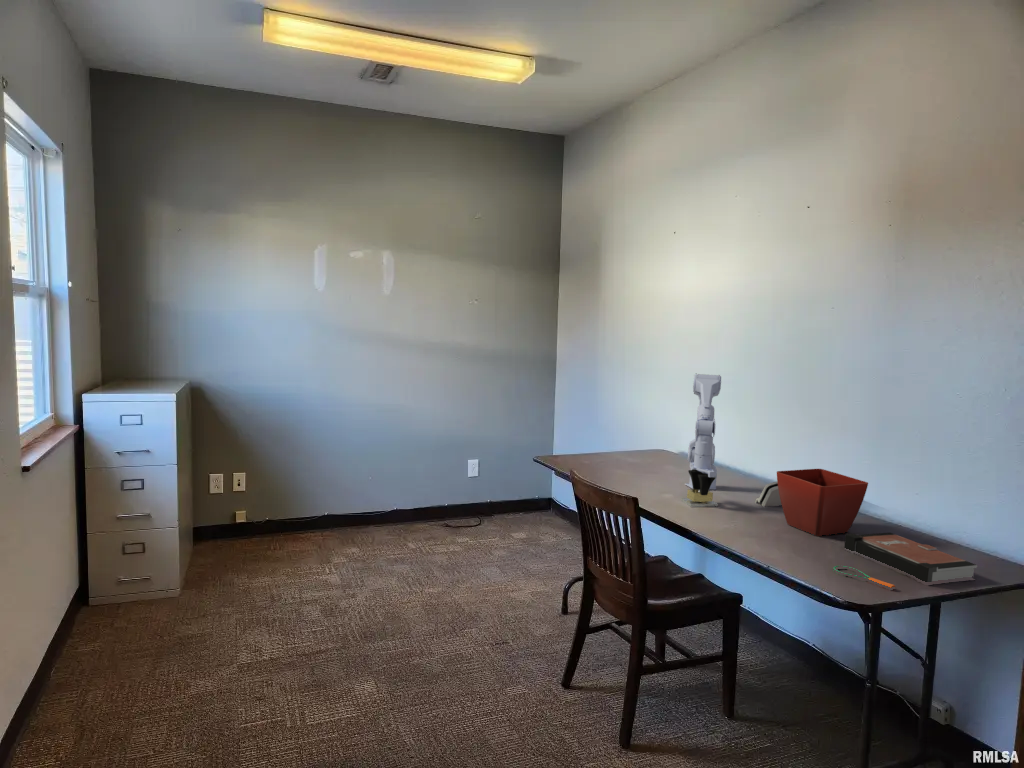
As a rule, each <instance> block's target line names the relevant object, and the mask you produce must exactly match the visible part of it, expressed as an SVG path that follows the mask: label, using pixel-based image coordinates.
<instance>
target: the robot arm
mask: <svg viewBox="0 0 1024 768" xmlns="http://www.w3.org/2000/svg"><path fill="white" fill-rule="evenodd" d="M692 382H693V383H692V384H693V385H692V392H693V394H694V395H696V396H697V397H698V400H699V403H698V407H697V417H696V421H695V429H694V433H695V438H694V439H692V440H691V441H689V444H688V450H687V452H688V453H687V462H688V463H689V470H688V474H689V482H686V483H684V485H685V486H687V487H688V488H691V489H700V492H701V495H707V494H708V491H710V490H717V475H718V471H717V468H716V466H715V465H714V464H715V459H716V458H715V457H716V446H715V443H714V438H715V435H716V420H715V407H714V406H713V405H712V403H713V398H714V397H718V396H719V394H720V392H721V388H722V386H721V385H722V376H721V374H718V375H717V374H705V373H695V374H693V381H692Z"/></svg>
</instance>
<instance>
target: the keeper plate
mask: <svg viewBox="0 0 1024 768" xmlns="http://www.w3.org/2000/svg"><path fill="white" fill-rule="evenodd" d="M698 492H700V489H698ZM682 501H683V502H682ZM681 502H682V503H684V504H685V503H686V505H687V506H688V507H690V508H691V507H692V508H698V507H699V508H701V507H705V508H706V507H707V508H708V507H709V508H711V507H715V506H716V507H718V505H719V504H718V503H717V502H716V501H714V500H712V501H709V502H693V501H692V500H690V499H688V498H687V497H684V498H681Z"/></svg>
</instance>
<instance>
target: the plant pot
mask: <svg viewBox="0 0 1024 768" xmlns="http://www.w3.org/2000/svg"><path fill="white" fill-rule="evenodd" d="M776 482H777V483H778V489H779V495H780V500H781V504H782V506H781V507H782V511H783V514H784V518H785V520H786V523H787V525H789V526H791V527H793V528H795V527H796V529H798V530H800V529H801V530H800V531H803V532H805V531H806V532H805V533H807V532H809V533H808V534H810V533H811V535H812V534H814V535H813V536H815V535H816V536H815V537H823V536H822V535H826V536H832V535H831V534H835V535H838V534H837V533H843V534H846V533H845V532H847V533H848V532H849V530H850V529H851V527H852V526H853V524H854V522H855V520H856V518H857V515H858V513H860V512H859V511H860V510H861V506H862V505H863V502H864V499H865V496H866V493H867V490H868V486H869V482H867V481H865V480H861V479H858V478H854V477H850V476H847V475H844V474H840V473H838V472H834V471H830V470H827V469H823V468H805V469H793V470H778V471H776ZM829 534H830V535H829Z"/></svg>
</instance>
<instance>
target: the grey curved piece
mask: <svg viewBox="0 0 1024 768" xmlns="http://www.w3.org/2000/svg"><path fill="white" fill-rule="evenodd" d="M759 495H760V496H759V497H757V498H756V499H755V501H754V503H755V504H760V503H761V506H762V507H764V506H766V507H780V506H779V505H782V504H781V500H780V495H779V489H778V483H777V481H773V482H770V483H767V484H766V485H764V488H763V489H762V491H761V493H760V494H759Z"/></svg>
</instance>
